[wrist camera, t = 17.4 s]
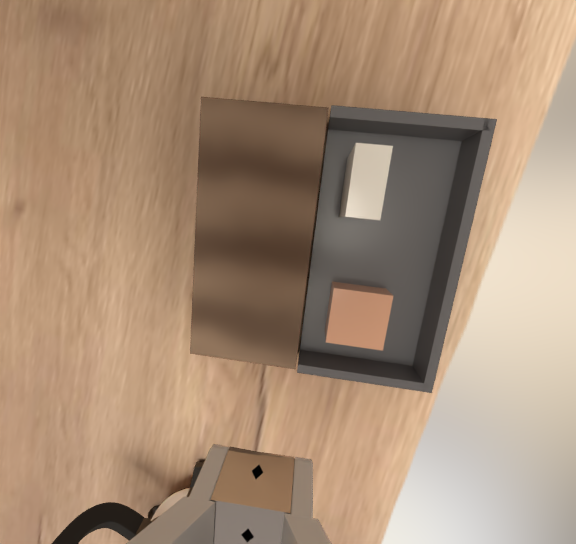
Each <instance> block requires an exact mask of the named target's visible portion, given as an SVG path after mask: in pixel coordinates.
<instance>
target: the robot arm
mask: <svg viewBox="0 0 576 544" xmlns="http://www.w3.org/2000/svg"><path fill="white" fill-rule="evenodd" d="M126 544H332V543H331V542H330V540H329V538H328V536H327V534H326V533H325V531H324V529H323V527H322V525H321V523H320V522H319V520H318V519H315V518H313V463H312V460H311V459H305V458H298V457H295V459H294V457H291V456H285V455H278V454H271V453H264V452H262V453H261V452H256V451H251V450H245V449H240V448H234V447H227V446H222V445H216V444H213V446H212V447H211V448H210V450H209V452H208V455H207V457H206V459H205V462H204V464H203V466H202V469H201V471H200V473H199V475H198V478H197V480H196V482H195V485H194V487H193V489H192V491H191V494H190V496H189V497H185V496H184V497H182V498H181V499H180V500H179V501H177V502H176V503H175V504H174V505H173V506H171V507H170V508H169V509H168V510H166V511H165V512H164V513H163V514H162V515H160V516H159V517H158V518H157V519H156V520H154V521H153V522H152V523H151V524H149V525H148V526H147V527H146V528H145V529H143V530H142V531H141V532H140V533H138V534H137V535H136V536H135V537H134V538H132V539H131V540H130V541H129V542H127V543H126Z"/></svg>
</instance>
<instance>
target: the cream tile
mask: <svg viewBox="0 0 576 544" xmlns="http://www.w3.org/2000/svg"><path fill="white" fill-rule="evenodd" d="M392 149H393V146H388V145H377V144H365V143H355V145H354V147H353V149H352V151H351V152H350V154H349V156H348V158H347V165H346V172H345V179H344V186H343V193H342V200H341V207H340V214H339V217H345V218H354V219H363V220H380V219H381V213H382V207H383V202H384V196H385V190H386V184H387V178H388V172H389V166H390V161H391V155H392Z"/></svg>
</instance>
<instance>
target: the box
mask: <svg viewBox="0 0 576 544" xmlns="http://www.w3.org/2000/svg"><path fill="white" fill-rule="evenodd" d="M496 121H497V119H488V118H476V117H464V116H452V115H440V114H428V113H417V112H405V111H393V110H381V109H369V108H357V107H345V106H334V105H332V106H331V112H330V119H329V126H328V134H327V141H326V149H325V157H324V165H323V173H322V180H321V188H320V196H319V204H318V212H317V219H316V227H315V235H314V243H313V251H312V258H311V266H310V274H309V282H308V289H307V297H306V305H305V313H304V321H303V328H302V336H301V344H300V352H299V361H298V370H297V373H303V374H310V375H317V376H323V377H330V378H336V379H343V380H350V381H356V382H363V383H369V384H376V385H383V386H389V387H396V388H403V389H409V390H416V391H422V392H429V393H432V389H433V385H434V381H435V377H436V373H437V368H438V364H439V360H440V356H441V352H442V347H443V343H444V339H445V335H446V331H447V326H448V322H449V318H450V314H451V310H452V306H453V301H454V297H455V293H456V289H457V285H458V280H459V276H460V272H461V268H462V264H463V259H464V255H465V251H466V247H467V243H468V238H469V234H470V230H471V226H472V222H473V217H474V213H475V209H476V205H477V201H478V196H479V192H480V188H481V184H482V180H483V176H484V171H485V167H486V163H487V159H488V155H489V150H490V146H491V142H492V138H493V134H494V129H495V125H496ZM355 143H365V144H377V145H388V146H393V149H392V155H391V161H390V166H389V172H388V178H387V184H386V190H385V196H384V202H383V207H382V213H381V219H380V220H363V219H354V218H345V217H339V214H340V207H341V200H342V193H343V186H344V179H345V172H346V165H347V158H348V156H349V154H350V152H351V151H352V149H353V147H354V145H355ZM332 282H339V283H347V284H355V285H363V286H371V287H378V288H386V289H387V290H388V291H389V292H390V293H391V294H392V295H393V301H392V306H391V311H390V316H389V321H388V327H387V332H386V337H385V342H384V347H383V351H382V350H375V349H368V348H361V347H354V346H347V345H340V344H334V343H327V342H326V340H325V325H326V319H327V312H328V305H329V298H330V291H331V284H332Z"/></svg>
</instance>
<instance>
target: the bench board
mask: <svg viewBox="0 0 576 544" xmlns="http://www.w3.org/2000/svg"><path fill="white" fill-rule="evenodd" d="M327 116H328V108H326V107H314V106H303V105H291V104H279V103H267V102H256V101H244V100H232V99H220V98H208V97H201V114H200V137H199V160H198V183H197V206H196V229H195V252H194V275H193V298H192V321H191V344H190V354H197V355H204V356H210V357H217V358H223V359H230V360H237V361H243V362H250V363H257V364H263V365H270V366H277V367H283V368H290V369H295V368H296V360H297V352H298V344H299V337H300V329H301V321H302V313H303V305H304V297H305V289H306V281H307V273H308V266H309V258H310V250H311V242H312V234H313V226H314V218H315V210H316V203H317V195H318V187H319V179H320V171H321V163H322V155H323V147H324V139H325V132H326V124H327Z"/></svg>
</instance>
